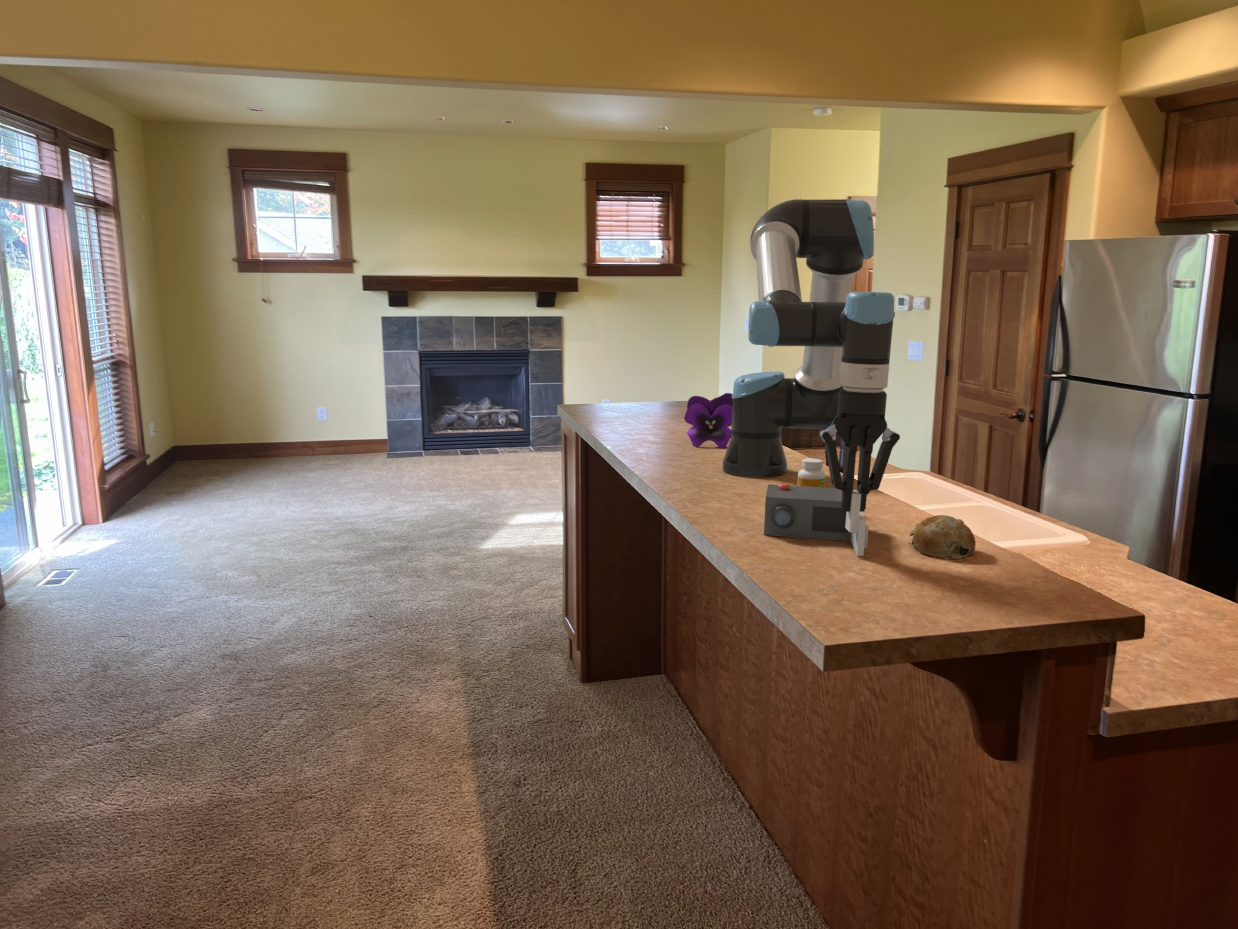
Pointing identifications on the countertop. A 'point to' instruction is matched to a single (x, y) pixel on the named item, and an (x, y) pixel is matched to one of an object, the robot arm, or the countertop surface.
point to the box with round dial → (805, 512)
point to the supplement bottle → (811, 473)
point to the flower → (710, 419)
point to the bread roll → (943, 537)
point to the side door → (860, 536)
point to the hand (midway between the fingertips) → (851, 530)
